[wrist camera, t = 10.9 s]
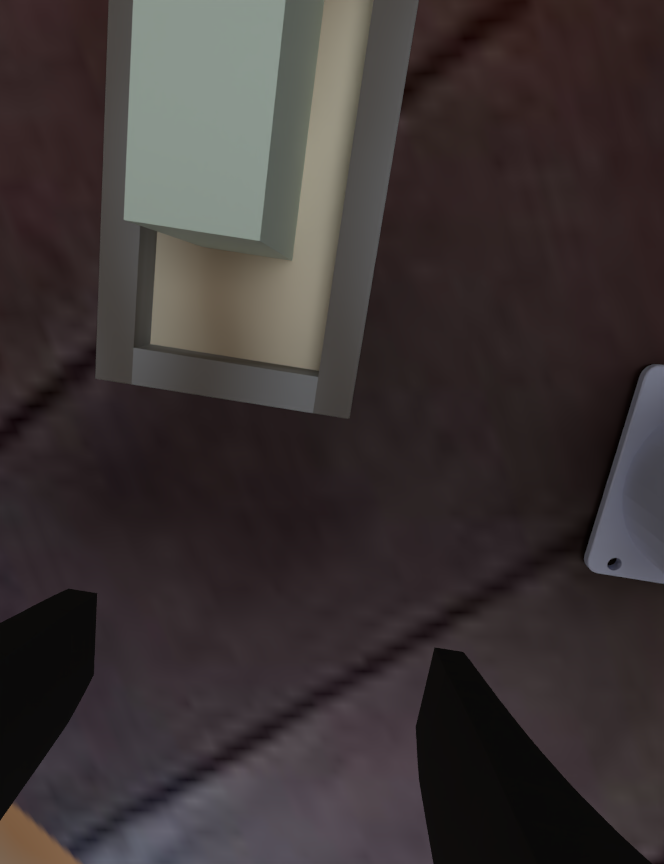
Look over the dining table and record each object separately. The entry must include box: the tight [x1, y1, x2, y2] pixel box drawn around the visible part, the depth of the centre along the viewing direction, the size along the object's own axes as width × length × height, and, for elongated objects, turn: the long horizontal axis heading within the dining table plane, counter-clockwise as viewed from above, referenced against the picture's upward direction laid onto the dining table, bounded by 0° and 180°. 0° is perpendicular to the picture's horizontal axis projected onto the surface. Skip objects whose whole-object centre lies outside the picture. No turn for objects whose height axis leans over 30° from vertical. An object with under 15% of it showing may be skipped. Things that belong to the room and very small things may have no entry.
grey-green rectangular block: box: [124, 0, 324, 261], centre depth 13 cm, size 3×9×6 cm, turn 171°
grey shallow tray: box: [95, 0, 419, 419], centre depth 16 cm, size 8×18×2 cm, turn 171°
